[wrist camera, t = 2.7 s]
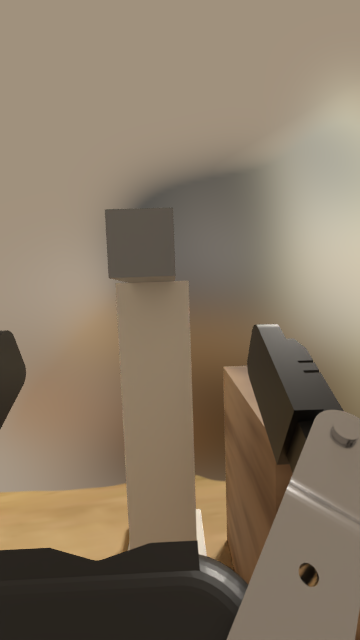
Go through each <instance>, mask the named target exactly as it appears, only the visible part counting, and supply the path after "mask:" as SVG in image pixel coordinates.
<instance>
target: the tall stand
mask: <svg viewBox="0 0 360 640" xmlns="http://www.w3.org/2000/svg"><path fill="white" fill-rule="evenodd" d="M116 298H117V316H118V317H117V318H118V336H119V354H120V373H121V391H122V410H123V427H124V447H125V464H126V465H125V466H126V484H127V503H128V521H129V546H128V550H131V549H134V548H137V547H140V546H142V545H145V544H148V543H156V542H176V541H196V540H198V552H199V554H200V555H204V556H207V555H206V548H205V540H204V532H203V524H202V517H201V509H196V499H195V470H194V439H193V410H192V408H193V407H192V377H191V347H190V316H189V286H188V281H169V282H140V283H116Z"/></svg>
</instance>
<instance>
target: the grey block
mask: <svg viewBox="0 0 360 640" xmlns="http://www.w3.org/2000/svg"><path fill="white" fill-rule="evenodd" d="M105 218H106V236H107V253H108V273H109V278H110V279H115V280H119V281H124V282H128V283H140V282H169V281H175V251H174V224H173V208H142V209H109V210H105Z"/></svg>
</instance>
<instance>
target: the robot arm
mask: <svg viewBox="0 0 360 640" xmlns="http://www.w3.org/2000/svg"><path fill="white" fill-rule="evenodd" d="M247 369H248V375H249V379H250V382H251V385H252V389H253V392H254V395H255V398H256V401H257V404H258V407H259V410H260V414H261V417H262V420H263V423H264V426H265V429H266V432H267V435H268V439H269V442H270V445H271V448H272V451H273V454H274V457H275V461H276V464H277V465H285V464H290V467H291V470H292V473H293V475H292V477H291V480H290V482H289V484H288V487H287V489H286V492H285V494H284V497H283V499H282V502H281V504H280V507H279V509H278V512H277V514H276V517H275V519H274V522H273V524H272V527H271V529H270V532H269V534H268V537H267V539H266V542H265V544H264V547H263V549H262V552H261V554H260V557H259V559H258V562H257V565H256V567H255V570H254V572H253V575H252V577H251V580H250V582H249V584H248V583H247V582H246V581H245V580H244V579H243V578H242V577H240V576H239V575H238V574H237V573H235V572H234V571H233V570H232V569H230V568H229V567H227V566H226V565H224V564H222V563H221V562H219V561H217V560H214V559H212V558H210V557H207V556H204V555H200V554H199V552H198V540H196V541H176V542H156V543H148V544H145V545H142V546H140V547H137V548H134V549H131V550H128V551H126V552H123V553H120V554H117V555H114V556H112V557H109V558H106V559H103V560H99V561H95V560H90V559H87V558H83V557H80V556H76V555H73V554H69V553H66V552H62V551H58V550H55V549H51V548H38V549H18V550H0V640H355V636H356V629H357V623H358V616H359V610H360V419H359V418H357V417H356V416H354V415H352V414H350V413H347V412H344V411H343V409H342V408H341V406H340V404H339V403H338V401H337V399H336V398H335V396H334V394H333V393H332V391H331V389H330V388H329V386H328V384H327V383H326V381H325V379H324V378H323V376H322V374H321V373H319V369H318V368H317V366H316V364H315V363H313V359H312V358H311V356H310V354H309V353H308V351H307V349H306V348H305V347H304V346H302V345H301V344H300V343H298V342H297V341H296V340H295V339H286V338H285V336H284V334H283V333H282V330H281V329H280V327H279V326H278V324H265V325H264V324H262V325H254V327H253V329H252V336H251V341H250V347H249V354H248V361H247ZM25 377H26V368H25V364H24V362H23V359H22V356H21V354H20V351H19V349H18V346H17V344H16V341H15V338H14V336H13V334H12V333H11V332H10V331H0V429H1V427H2V425H3V423H4V421H5V419H6V417H7V415H8V413H9V411H10V409H11V407H12V405H13V403H14V402H15V400H16V398H17V396H18V394H19V392H20V390H21V388H22V386H23V384H24V381H25Z"/></svg>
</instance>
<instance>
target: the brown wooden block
mask: <svg viewBox="0 0 360 640" xmlns="http://www.w3.org/2000/svg"><path fill="white" fill-rule="evenodd" d="M223 375H224V414H225V415H224V416H225V417H224V418H225V458H226V459H225V462H226V506H227V540H228V544H229V549H230V553H231V558H232V562H233V567H234V571H235V573H237V574H238V575H239V576H240V577H242V578H243V579H244V580H245V581H246V582H247V583H248V584H249V582H250V580H251V577H252V575H253V572H254V570H255V567H256V565H257V562H258V559H259V557H260V554H261V552H262V549H263V547H264V544H265V542H266V539H267V537H268V534H269V532H270V529H271V527H272V524H273V522H274V519H275V517H276V514H277V512H278V509H279V507H280V504H281V502H282V499H283V497H284V494H285V492H286V489H287V487H288V484H289V482H290V480H291V477H292V475H293V473H292V470H291V467H290V464H285V465H277V464H276V461H275V457H274V454H273V451H272V448H271V445H270V442H269V439H268V435H267V432H266V429H265V426H264V423H263V420H262V417H261V414H260V410H259V407H258V404H257V401H256V398H255V395H254V392H253V389H252V385H251V382H250V379H249V375H248V369H247V366H230V367H223ZM355 640H360V610H359V616H358V623H357V629H356V636H355Z"/></svg>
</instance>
